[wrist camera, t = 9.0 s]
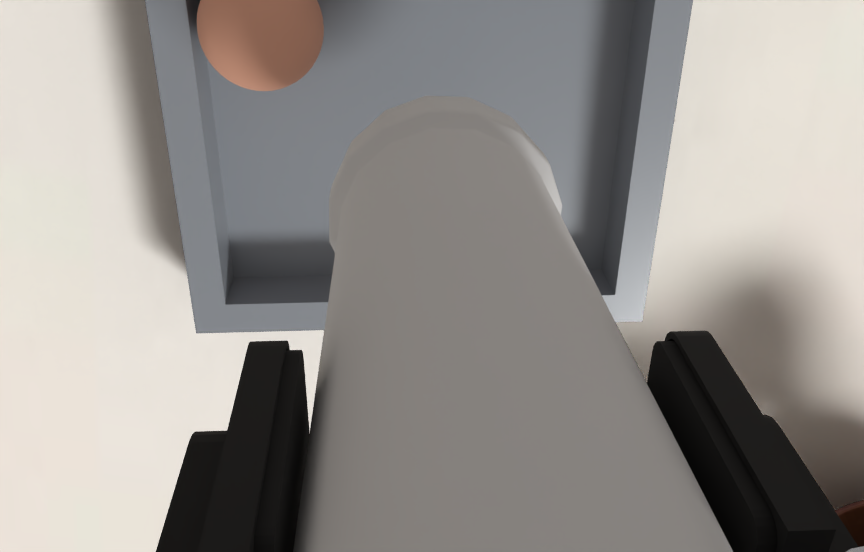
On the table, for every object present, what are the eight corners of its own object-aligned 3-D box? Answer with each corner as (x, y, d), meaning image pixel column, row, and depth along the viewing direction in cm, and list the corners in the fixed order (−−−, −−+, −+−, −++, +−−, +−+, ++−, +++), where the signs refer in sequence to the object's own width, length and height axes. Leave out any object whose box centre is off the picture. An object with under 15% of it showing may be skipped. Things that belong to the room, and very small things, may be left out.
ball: (329, 72, 23) (323, 106, 21) (215, 73, 23) (194, 107, 20) (323, -48, 22) (316, -28, 19) (201, -48, 22) (176, -28, 19)
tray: (621, 282, 28) (642, 321, 26) (210, 292, 28) (196, 333, 25) (674, -98, 23) (706, -90, 20) (155, -101, 22) (130, -92, 20)
